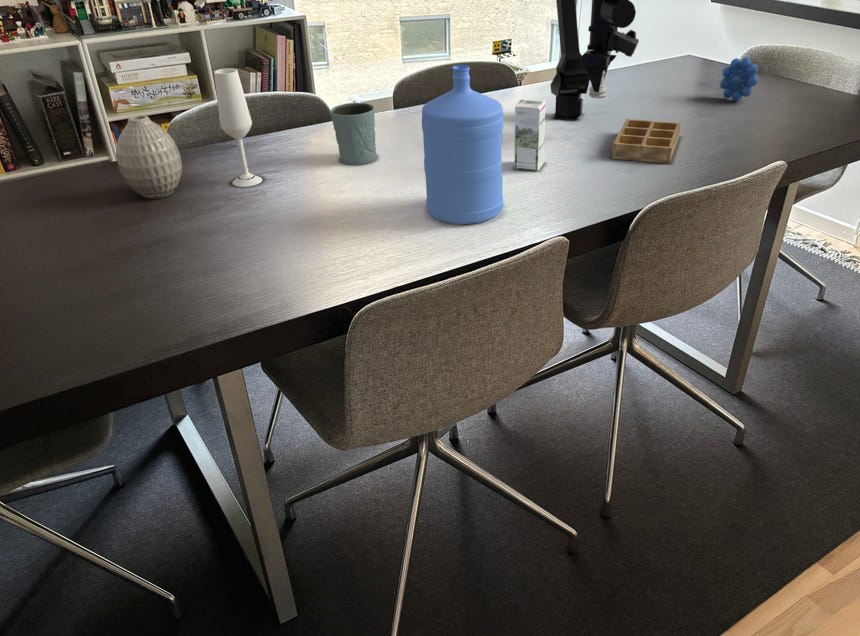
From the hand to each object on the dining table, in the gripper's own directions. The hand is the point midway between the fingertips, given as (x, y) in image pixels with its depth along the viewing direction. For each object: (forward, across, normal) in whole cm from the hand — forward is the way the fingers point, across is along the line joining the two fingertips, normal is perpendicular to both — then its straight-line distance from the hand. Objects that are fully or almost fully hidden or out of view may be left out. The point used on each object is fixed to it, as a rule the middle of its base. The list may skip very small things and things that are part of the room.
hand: (598, 89), depth 184 cm
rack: (+12, -5, -14) cm, 19 cm away
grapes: (+12, +42, -32) cm, 54 cm away
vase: (+12, -64, +84) cm, 106 cm away
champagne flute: (+12, -52, +69) cm, 87 cm away
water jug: (+12, -54, +16) cm, 57 cm away
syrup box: (+12, -26, +10) cm, 30 cm away
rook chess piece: (+2, 0, 0) cm, 2 cm away
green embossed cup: (+12, -32, +51) cm, 61 cm away
